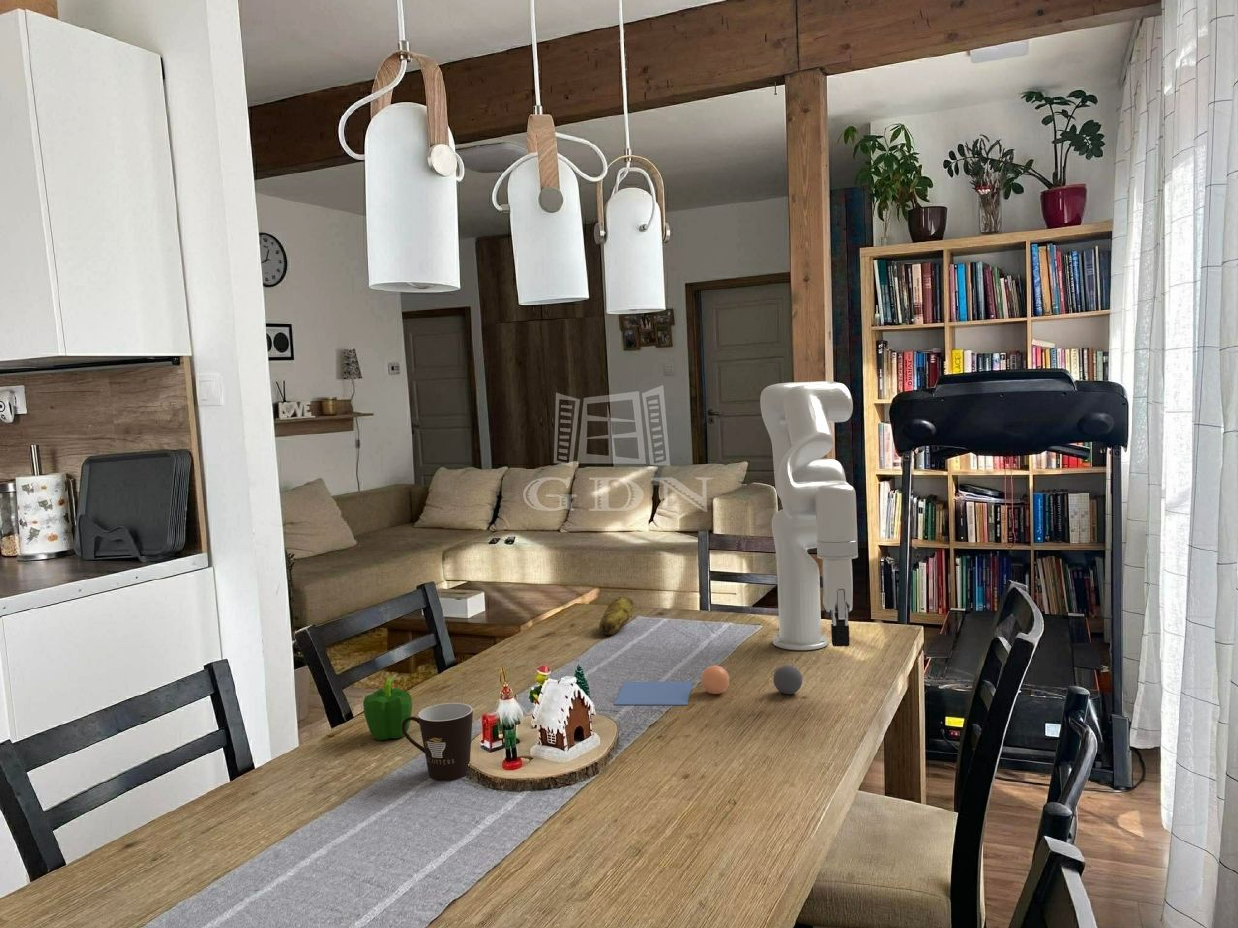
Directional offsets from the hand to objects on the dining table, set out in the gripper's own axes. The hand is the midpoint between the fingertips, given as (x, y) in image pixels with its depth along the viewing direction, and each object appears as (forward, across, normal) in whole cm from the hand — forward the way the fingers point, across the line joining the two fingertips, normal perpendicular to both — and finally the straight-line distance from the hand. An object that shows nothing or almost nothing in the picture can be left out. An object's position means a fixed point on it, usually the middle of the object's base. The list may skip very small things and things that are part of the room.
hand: (840, 645), depth 178 cm
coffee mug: (+11, +38, -66) cm, 77 cm away
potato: (+8, -50, -51) cm, 72 cm away
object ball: (+7, -1, -24) cm, 25 cm away
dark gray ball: (+7, -1, -10) cm, 12 cm away
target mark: (+10, -1, -36) cm, 37 cm away
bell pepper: (+10, +23, -81) cm, 85 cm away
